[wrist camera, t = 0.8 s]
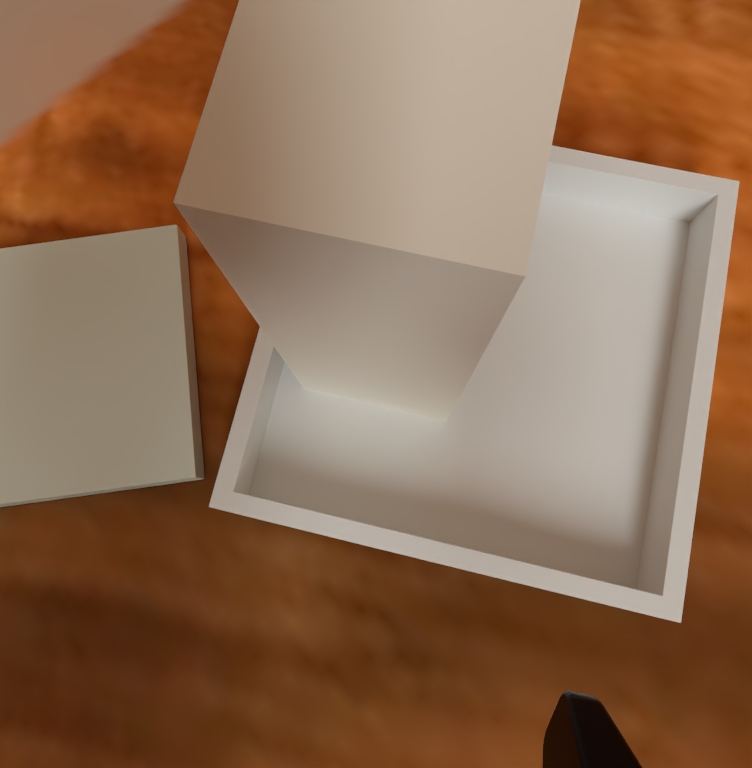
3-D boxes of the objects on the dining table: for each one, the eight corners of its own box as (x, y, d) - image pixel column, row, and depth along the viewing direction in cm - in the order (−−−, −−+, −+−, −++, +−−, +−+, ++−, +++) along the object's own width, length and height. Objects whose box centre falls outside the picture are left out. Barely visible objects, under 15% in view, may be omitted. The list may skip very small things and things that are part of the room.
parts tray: (646, 610, 20) (680, 623, 18) (230, 508, 21) (208, 506, 19) (702, 217, 23) (739, 181, 21) (331, 143, 24) (323, 101, 22)
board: (204, 479, 22) (195, 477, 21) (-57, 515, 22) (-78, 514, 21) (186, 236, 23) (177, 224, 22) (-55, 269, 23) (-74, 258, 22)
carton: (446, 420, 21) (526, 277, 8) (303, 388, 22) (173, 203, 9) (477, 279, 22) (588, -39, 9) (339, 251, 23) (269, -93, 10)
